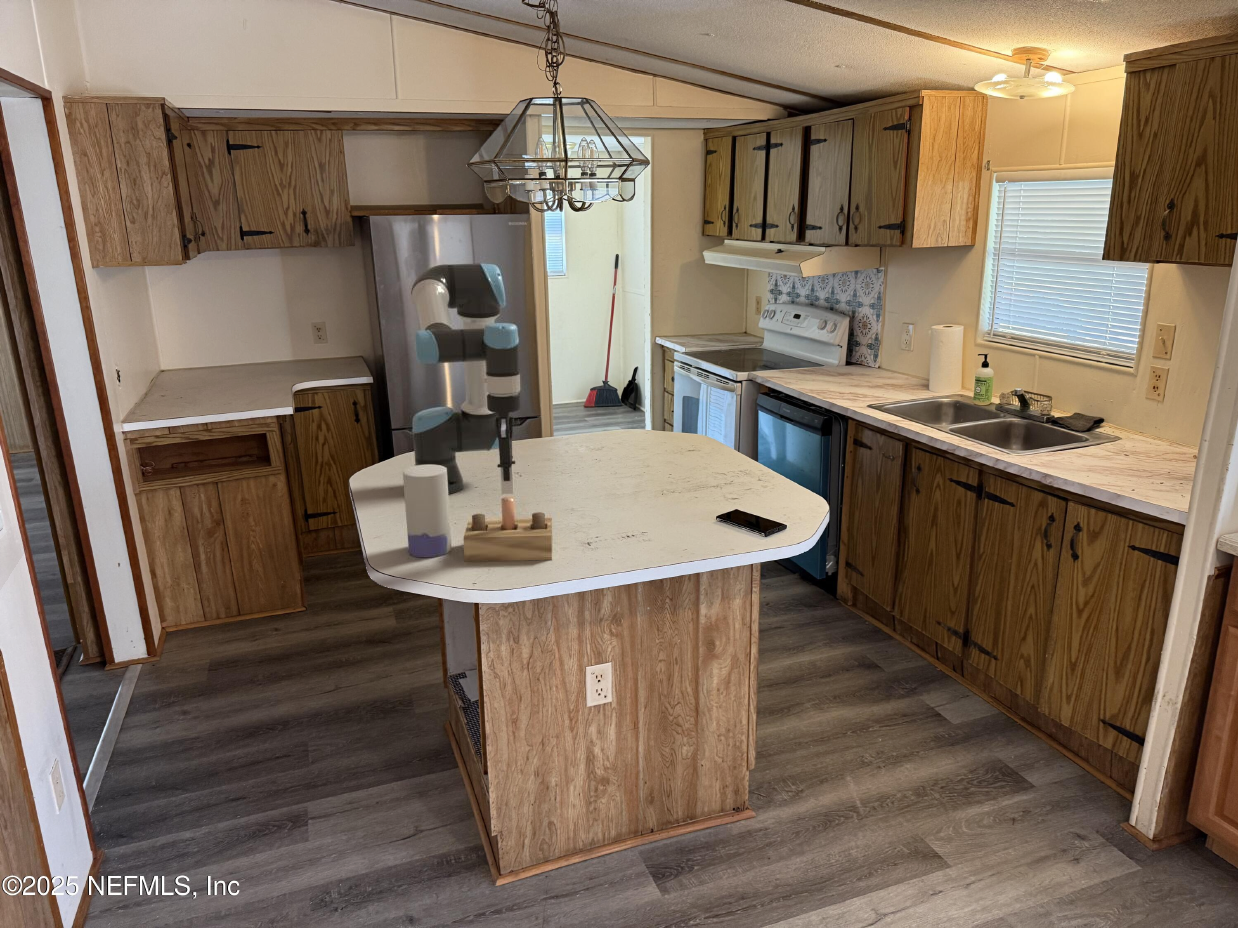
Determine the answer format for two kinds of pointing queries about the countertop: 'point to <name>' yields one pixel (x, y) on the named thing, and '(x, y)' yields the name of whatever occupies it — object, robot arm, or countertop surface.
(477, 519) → the walnut peg
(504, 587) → the countertop surface
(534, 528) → the walnut peg
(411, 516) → the container
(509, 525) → the terracotta peg
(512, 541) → the oak block
